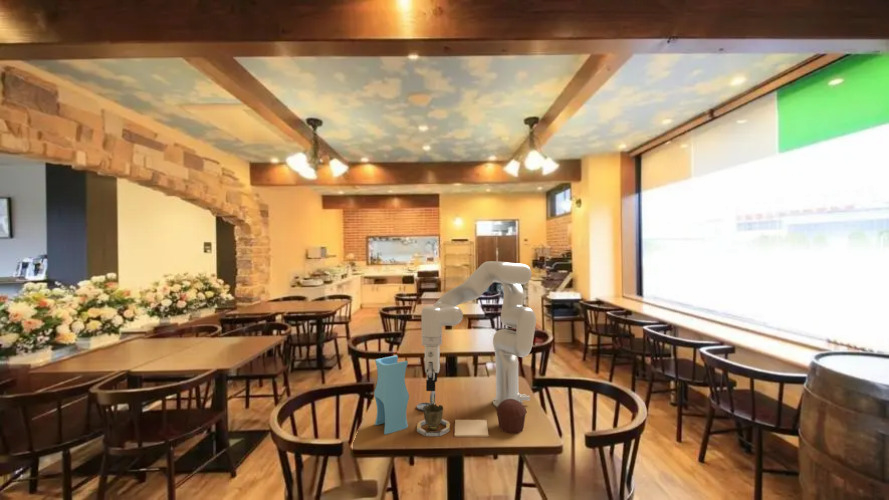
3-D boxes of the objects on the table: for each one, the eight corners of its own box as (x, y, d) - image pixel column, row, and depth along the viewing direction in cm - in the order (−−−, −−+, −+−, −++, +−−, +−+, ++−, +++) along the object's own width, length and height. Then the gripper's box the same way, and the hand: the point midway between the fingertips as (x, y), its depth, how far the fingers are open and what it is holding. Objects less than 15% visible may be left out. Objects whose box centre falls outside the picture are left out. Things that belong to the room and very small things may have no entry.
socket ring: (450, 421, 152) (450, 418, 151) (449, 436, 140) (449, 433, 140) (419, 421, 152) (419, 418, 152) (415, 436, 140) (415, 432, 140)
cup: (447, 426, 147) (446, 405, 147) (436, 435, 141) (436, 413, 141) (430, 422, 151) (430, 401, 151) (419, 430, 145) (419, 408, 145)
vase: (409, 427, 147) (408, 361, 147) (385, 434, 142) (383, 366, 141) (398, 417, 155) (396, 355, 155) (374, 424, 150) (373, 359, 150)
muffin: (529, 435, 139) (529, 407, 139) (498, 435, 140) (498, 407, 139) (523, 420, 151) (523, 394, 151) (494, 420, 151) (494, 395, 151)
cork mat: (486, 421, 151) (486, 419, 151) (488, 436, 139) (488, 435, 139) (455, 421, 151) (455, 419, 151) (454, 436, 139) (454, 434, 139)
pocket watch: (414, 406, 166) (414, 383, 166) (433, 403, 169) (432, 380, 169) (421, 414, 159) (420, 389, 158) (440, 410, 162) (439, 386, 162)
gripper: (440, 346, 136) (440, 395, 137) (443, 335, 154) (443, 378, 154) (419, 345, 137) (419, 394, 137) (424, 334, 154) (424, 378, 154)
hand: (431, 386), depth 145 cm, fingers open, 9 cm apart
